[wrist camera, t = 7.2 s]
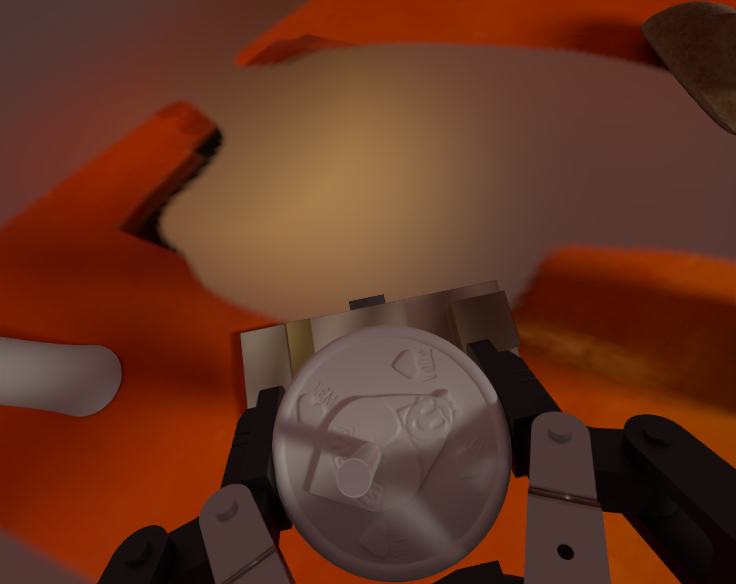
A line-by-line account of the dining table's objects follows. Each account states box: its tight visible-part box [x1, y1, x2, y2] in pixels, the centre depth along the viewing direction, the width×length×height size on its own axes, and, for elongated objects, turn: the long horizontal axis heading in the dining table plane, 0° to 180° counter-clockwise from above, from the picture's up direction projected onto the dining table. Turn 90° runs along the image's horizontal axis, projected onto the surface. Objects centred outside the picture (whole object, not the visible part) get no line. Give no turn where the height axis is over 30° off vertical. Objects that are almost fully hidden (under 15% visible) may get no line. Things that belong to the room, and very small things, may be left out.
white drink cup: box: [272, 325, 512, 582], centre depth 13 cm, size 6×6×14 cm
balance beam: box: [240, 280, 521, 408], centre depth 30 cm, size 22×10×5 cm, turn 101°
